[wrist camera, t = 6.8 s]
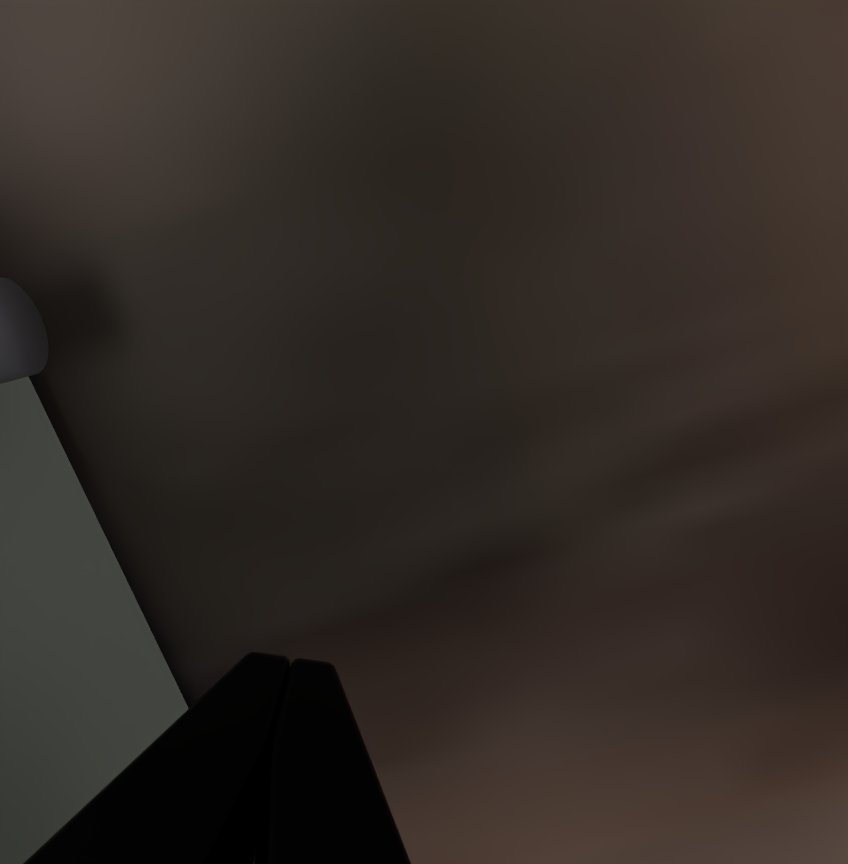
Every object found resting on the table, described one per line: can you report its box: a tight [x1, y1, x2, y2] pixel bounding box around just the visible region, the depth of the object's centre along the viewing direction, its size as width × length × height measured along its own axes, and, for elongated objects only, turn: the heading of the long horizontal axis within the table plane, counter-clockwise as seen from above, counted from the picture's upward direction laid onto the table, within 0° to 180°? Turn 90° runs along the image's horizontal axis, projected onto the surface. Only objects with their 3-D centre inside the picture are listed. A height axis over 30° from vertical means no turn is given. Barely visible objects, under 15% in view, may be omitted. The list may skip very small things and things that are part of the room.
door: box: [0, 277, 189, 864], centre depth 8 cm, size 12×2×7 cm, turn 15°
